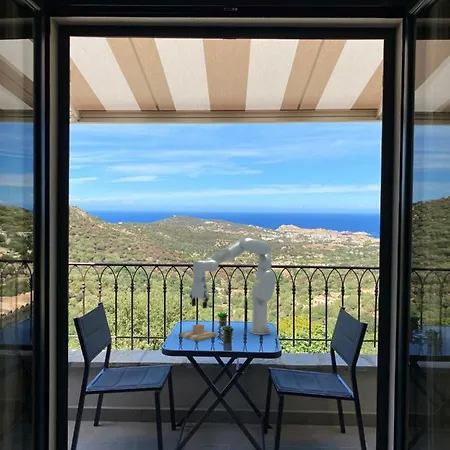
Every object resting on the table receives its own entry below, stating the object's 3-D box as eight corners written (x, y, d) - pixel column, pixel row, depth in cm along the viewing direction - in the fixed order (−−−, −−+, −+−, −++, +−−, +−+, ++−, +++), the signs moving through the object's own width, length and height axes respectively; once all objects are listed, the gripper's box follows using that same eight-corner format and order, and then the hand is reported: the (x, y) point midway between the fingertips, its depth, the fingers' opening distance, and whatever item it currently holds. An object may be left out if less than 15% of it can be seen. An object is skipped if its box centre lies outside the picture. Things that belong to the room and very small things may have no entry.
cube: (204, 333, 248) (204, 325, 248) (198, 334, 244) (198, 326, 244) (198, 331, 251) (198, 323, 251) (192, 333, 247) (192, 325, 247)
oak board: (216, 336, 248) (216, 333, 248) (198, 341, 236) (198, 338, 236) (198, 331, 259) (198, 328, 259) (180, 336, 246) (180, 333, 246)
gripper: (213, 280, 245) (213, 308, 245) (193, 277, 256) (193, 304, 256) (205, 281, 239) (205, 310, 239) (185, 279, 250) (185, 306, 250)
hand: (199, 307), depth 247 cm, fingers open, 9 cm apart
